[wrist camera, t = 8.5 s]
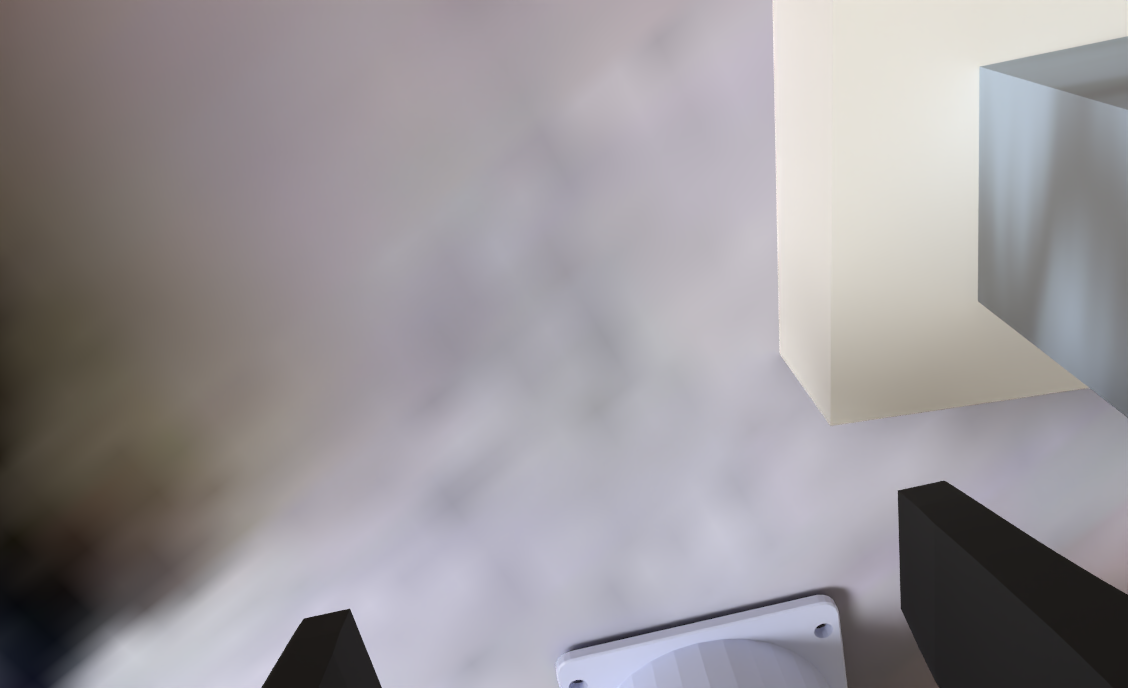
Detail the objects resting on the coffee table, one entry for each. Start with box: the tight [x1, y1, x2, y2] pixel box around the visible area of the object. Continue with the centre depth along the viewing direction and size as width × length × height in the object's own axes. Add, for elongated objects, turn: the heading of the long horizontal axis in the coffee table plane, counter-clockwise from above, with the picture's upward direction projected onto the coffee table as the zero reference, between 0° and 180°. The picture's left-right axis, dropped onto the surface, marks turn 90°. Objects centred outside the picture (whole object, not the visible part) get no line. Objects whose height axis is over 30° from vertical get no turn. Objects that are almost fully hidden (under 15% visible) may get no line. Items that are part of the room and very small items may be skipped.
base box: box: [773, 0, 1128, 426], centre depth 19 cm, size 10×10×4 cm
